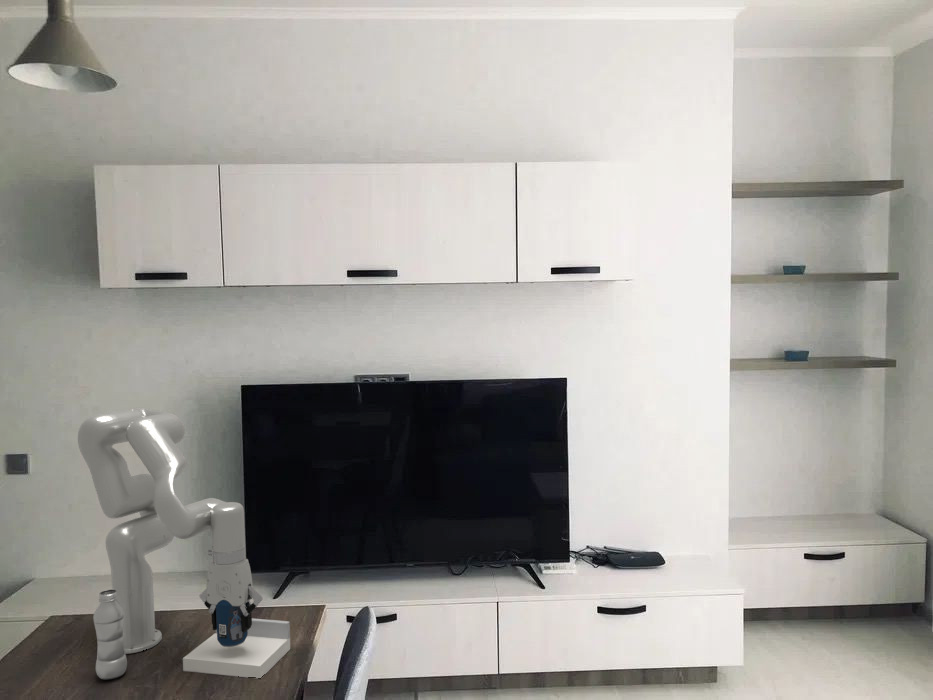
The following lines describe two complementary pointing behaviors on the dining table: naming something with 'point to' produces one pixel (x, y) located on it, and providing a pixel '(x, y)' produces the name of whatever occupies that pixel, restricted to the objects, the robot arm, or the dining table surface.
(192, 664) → the shelf
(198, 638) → the dining table surface
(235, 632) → the soda can
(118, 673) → the plastic bottle
